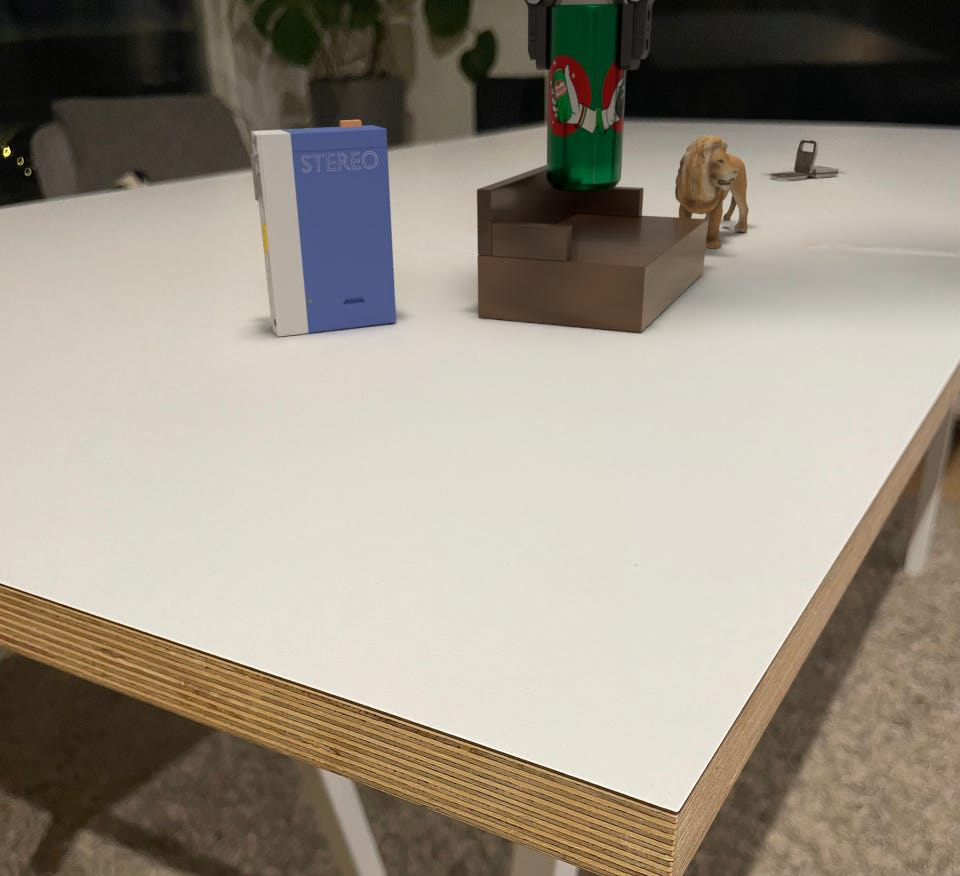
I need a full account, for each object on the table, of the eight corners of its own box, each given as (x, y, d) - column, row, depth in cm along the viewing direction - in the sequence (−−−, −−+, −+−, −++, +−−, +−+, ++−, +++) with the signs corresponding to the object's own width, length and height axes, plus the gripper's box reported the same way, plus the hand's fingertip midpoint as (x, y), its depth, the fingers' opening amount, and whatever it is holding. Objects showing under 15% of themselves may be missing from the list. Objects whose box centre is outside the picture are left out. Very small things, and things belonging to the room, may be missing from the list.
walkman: (383, 313, 69) (372, 118, 64) (396, 323, 67) (386, 122, 62) (266, 326, 67) (244, 124, 61) (276, 337, 65) (254, 128, 59)
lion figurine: (728, 258, 84) (740, 138, 80) (662, 254, 86) (671, 136, 81) (752, 227, 96) (763, 121, 92) (694, 224, 98) (703, 120, 94)
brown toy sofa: (703, 273, 79) (712, 161, 75) (641, 332, 64) (649, 197, 61) (565, 263, 83) (568, 156, 79) (478, 317, 68) (476, 189, 65)
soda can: (608, 181, 74) (617, -13, 68) (629, 192, 69) (640, -15, 63) (539, 184, 73) (541, -12, 67) (555, 195, 68) (560, -15, 63)
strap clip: (823, 173, 128) (827, 136, 126) (840, 176, 126) (845, 138, 124) (767, 178, 125) (771, 140, 123) (784, 181, 123) (788, 142, 121)
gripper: (735, -259, 60) (709, 67, 68) (505, -234, 65) (505, 67, 73) (708, -290, 54) (682, 72, 62) (456, -260, 59) (462, 72, 67)
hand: (587, 68), depth 67 cm, fingers closed on soda can, 5 cm apart
